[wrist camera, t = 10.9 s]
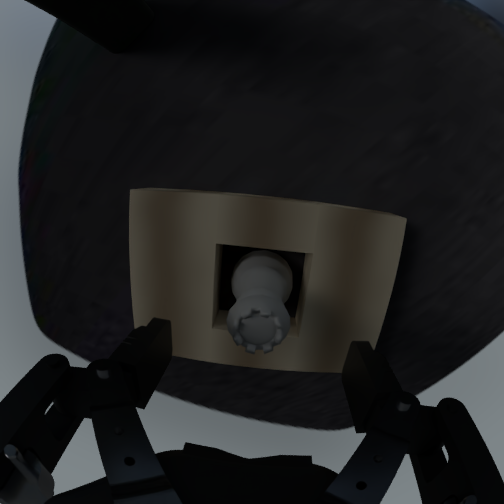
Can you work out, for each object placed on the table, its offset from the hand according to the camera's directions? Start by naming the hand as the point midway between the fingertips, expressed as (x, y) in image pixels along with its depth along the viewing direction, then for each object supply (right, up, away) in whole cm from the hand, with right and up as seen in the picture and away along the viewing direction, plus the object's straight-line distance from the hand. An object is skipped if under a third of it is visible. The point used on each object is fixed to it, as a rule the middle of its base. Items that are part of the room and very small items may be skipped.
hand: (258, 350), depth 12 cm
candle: (-12, +24, +4) cm, 27 cm away
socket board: (0, +2, +9) cm, 9 cm away
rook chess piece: (0, +2, +9) cm, 10 cm away
